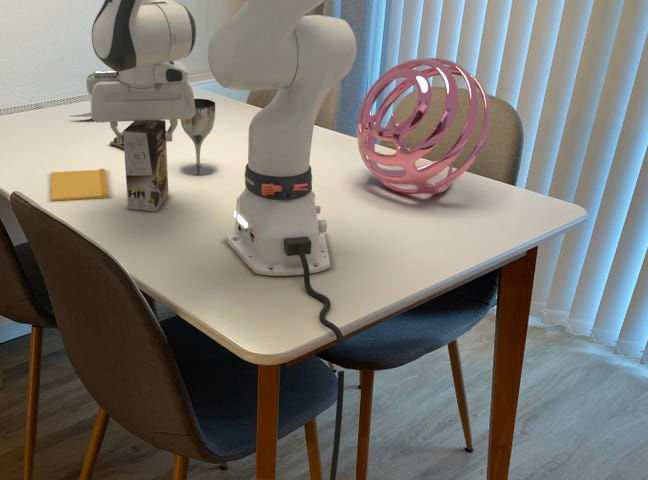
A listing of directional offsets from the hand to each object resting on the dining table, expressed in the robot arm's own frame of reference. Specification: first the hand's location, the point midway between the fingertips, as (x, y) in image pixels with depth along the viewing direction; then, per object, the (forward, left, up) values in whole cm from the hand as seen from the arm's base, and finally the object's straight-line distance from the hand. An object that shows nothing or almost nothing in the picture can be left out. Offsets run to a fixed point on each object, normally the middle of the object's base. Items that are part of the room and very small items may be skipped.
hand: (144, 141), depth 154 cm
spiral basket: (0, -57, -13) cm, 59 cm away
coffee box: (0, 0, -13) cm, 13 cm away
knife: (+65, +4, -13) cm, 66 cm away
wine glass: (+18, -13, -13) cm, 26 cm away
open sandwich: (+39, 0, -13) cm, 41 cm away
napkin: (+12, +14, -13) cm, 22 cm away
